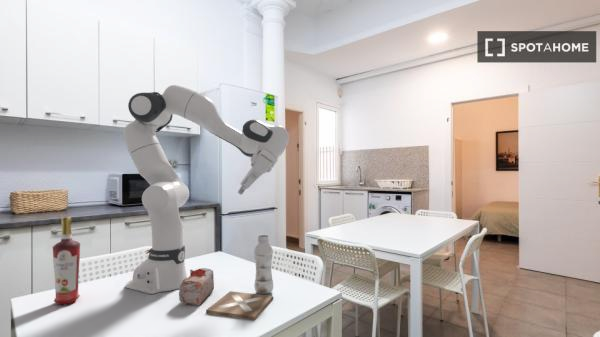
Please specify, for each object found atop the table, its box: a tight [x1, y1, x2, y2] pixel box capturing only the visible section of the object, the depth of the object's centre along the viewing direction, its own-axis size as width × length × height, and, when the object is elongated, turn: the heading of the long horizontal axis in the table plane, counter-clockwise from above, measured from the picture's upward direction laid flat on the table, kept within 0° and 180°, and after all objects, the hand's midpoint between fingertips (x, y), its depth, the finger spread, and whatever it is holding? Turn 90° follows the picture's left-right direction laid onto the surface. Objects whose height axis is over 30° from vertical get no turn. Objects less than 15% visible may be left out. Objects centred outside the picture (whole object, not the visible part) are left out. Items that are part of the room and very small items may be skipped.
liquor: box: [52, 216, 81, 306], centre depth 104 cm, size 7×7×28 cm
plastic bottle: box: [253, 234, 274, 295], centre depth 111 cm, size 6×7×20 cm
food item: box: [178, 267, 215, 306], centre depth 107 cm, size 14×8×10 cm, turn 176°
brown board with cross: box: [205, 291, 274, 321], centre depth 101 cm, size 16×15×1 cm
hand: (242, 190), depth 113 cm, fingers open, 8 cm apart
